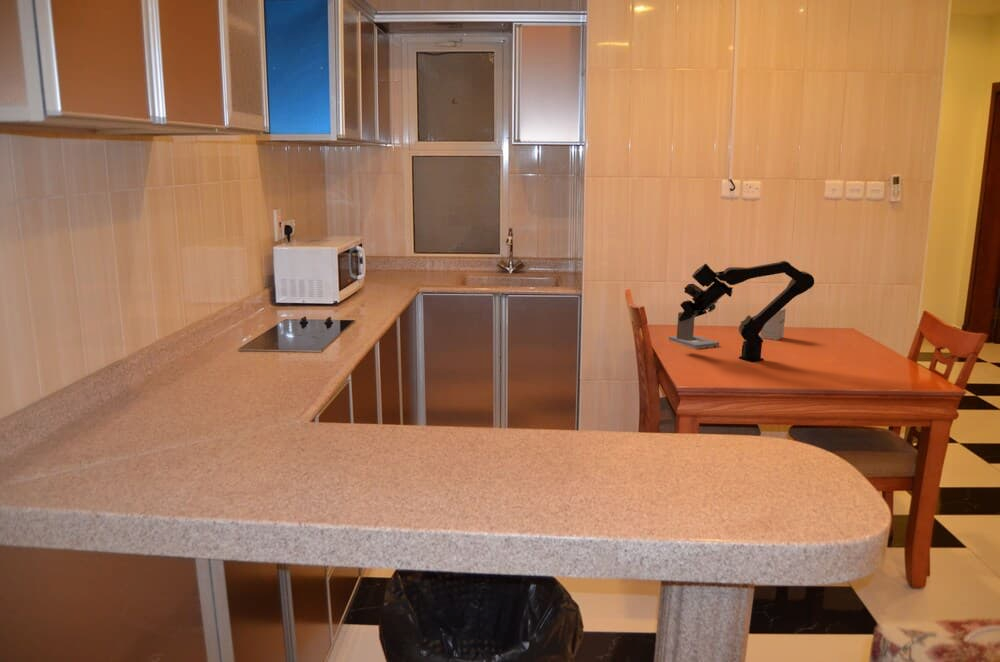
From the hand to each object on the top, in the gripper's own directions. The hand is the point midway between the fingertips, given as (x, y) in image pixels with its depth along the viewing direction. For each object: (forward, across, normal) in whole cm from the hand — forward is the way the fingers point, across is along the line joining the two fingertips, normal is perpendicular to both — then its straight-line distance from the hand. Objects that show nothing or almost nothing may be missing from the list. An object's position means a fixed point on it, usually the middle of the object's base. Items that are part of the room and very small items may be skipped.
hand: (682, 319), depth 296 cm
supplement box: (-3, -50, +20) cm, 54 cm away
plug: (+4, 0, +6) cm, 7 cm away
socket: (+11, -16, +7) cm, 21 cm away
